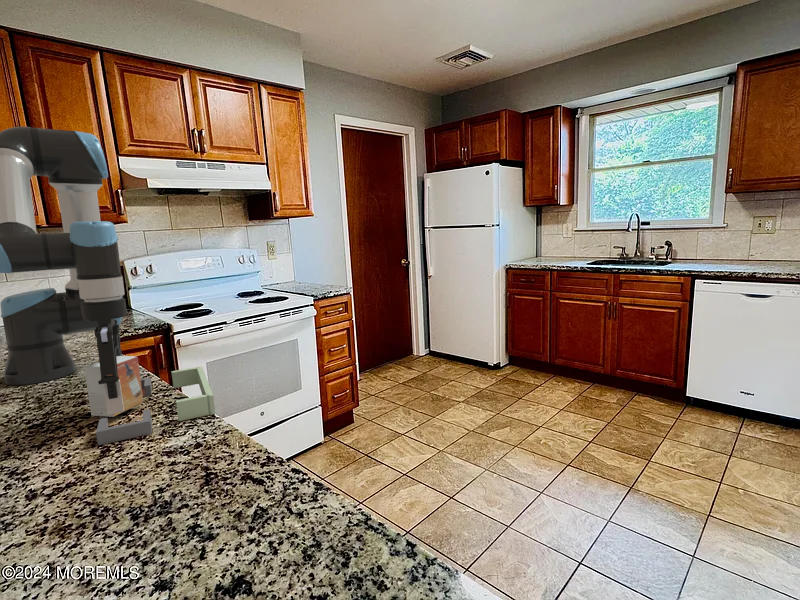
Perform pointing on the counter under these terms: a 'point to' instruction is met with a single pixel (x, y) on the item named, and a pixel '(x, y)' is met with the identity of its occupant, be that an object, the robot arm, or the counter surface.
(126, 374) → the small box
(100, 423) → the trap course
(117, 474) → the counter surface
